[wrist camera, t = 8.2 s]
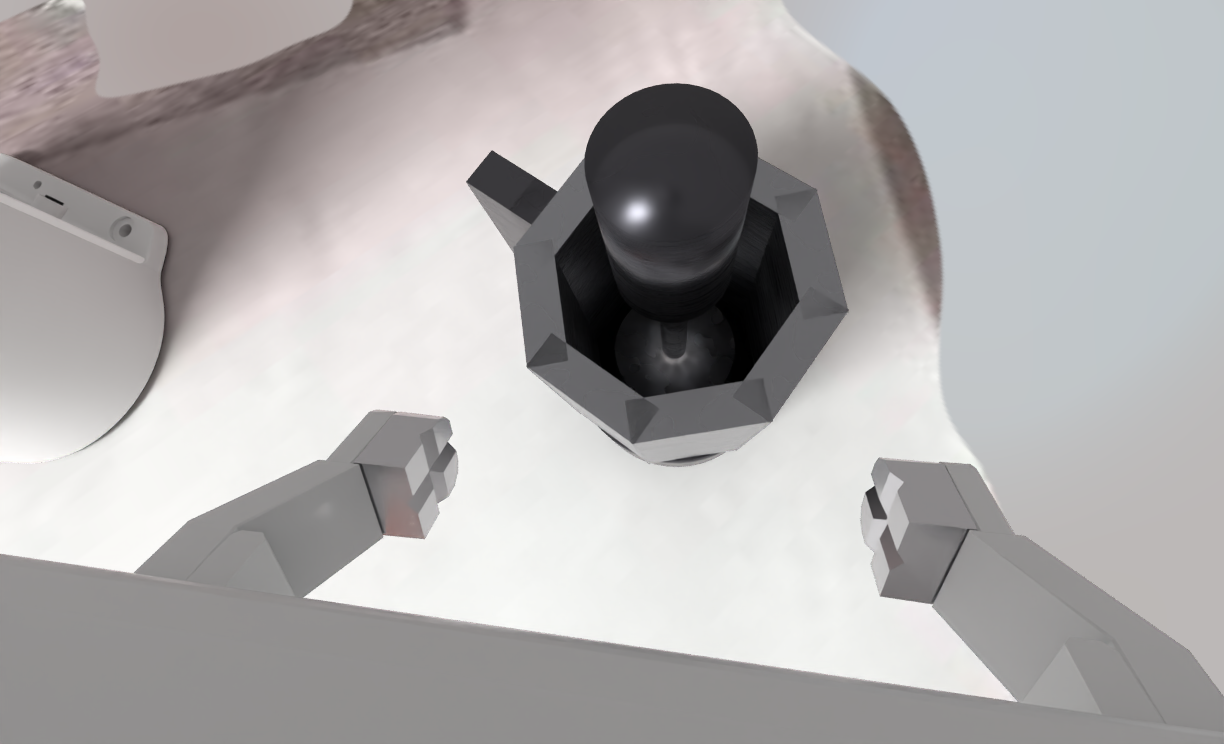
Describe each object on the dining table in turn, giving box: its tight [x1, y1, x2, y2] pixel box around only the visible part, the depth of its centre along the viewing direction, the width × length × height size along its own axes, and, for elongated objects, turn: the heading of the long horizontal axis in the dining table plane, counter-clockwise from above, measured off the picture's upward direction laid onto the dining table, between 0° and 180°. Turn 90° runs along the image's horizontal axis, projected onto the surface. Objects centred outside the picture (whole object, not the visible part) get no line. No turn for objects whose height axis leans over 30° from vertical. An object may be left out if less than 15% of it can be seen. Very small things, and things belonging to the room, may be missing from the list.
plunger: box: [584, 83, 758, 398], centre depth 17 cm, size 5×5×14 cm
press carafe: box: [466, 151, 848, 467], centre depth 23 cm, size 12×9×14 cm
